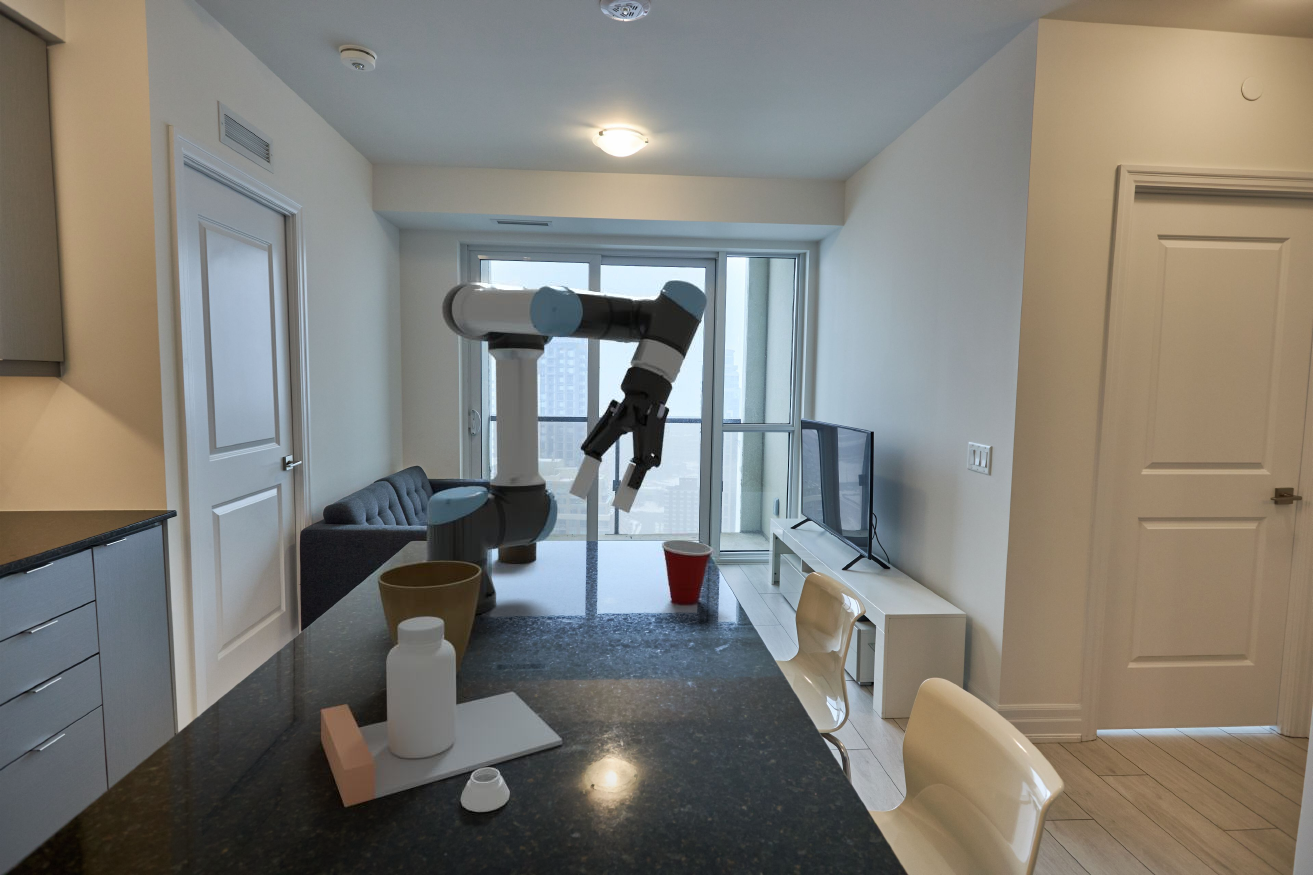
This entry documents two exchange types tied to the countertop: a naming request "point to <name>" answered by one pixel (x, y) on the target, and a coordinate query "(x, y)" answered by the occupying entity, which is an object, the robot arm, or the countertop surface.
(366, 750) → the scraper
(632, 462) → the robot arm
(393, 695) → the pill bottle
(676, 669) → the countertop surface
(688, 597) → the plastic cup
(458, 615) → the plant pot
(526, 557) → the pillar candle
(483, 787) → the lidless jar
